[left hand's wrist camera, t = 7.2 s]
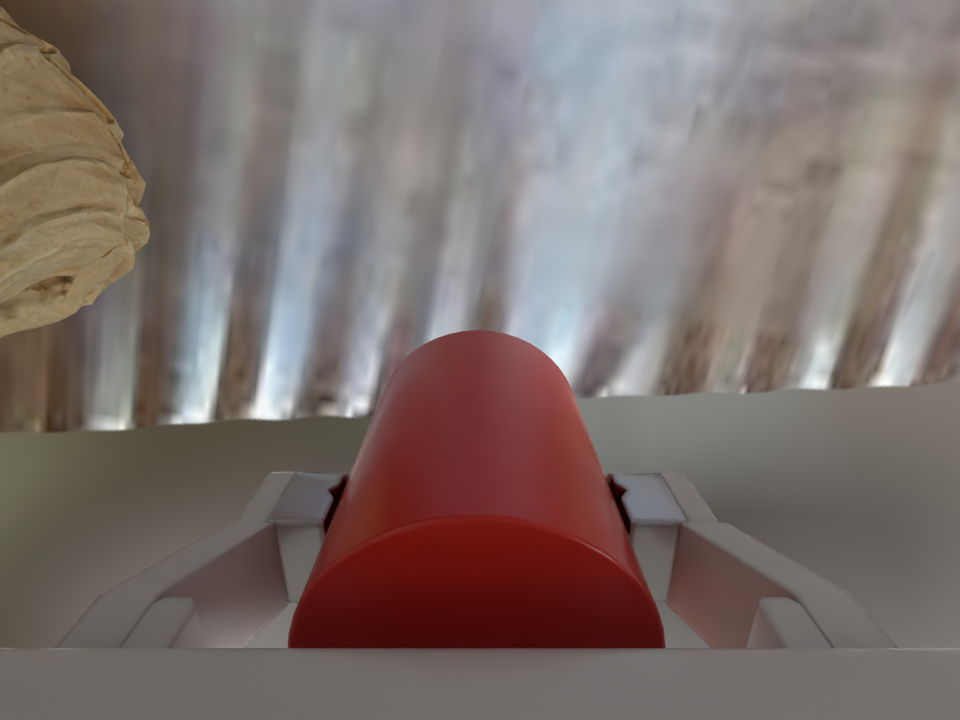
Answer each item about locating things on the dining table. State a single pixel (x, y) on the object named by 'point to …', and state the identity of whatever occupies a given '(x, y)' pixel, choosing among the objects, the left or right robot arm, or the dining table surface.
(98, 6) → the dining table surface
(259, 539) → the left robot arm
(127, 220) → the fossil
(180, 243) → the dining table surface
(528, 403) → the can
